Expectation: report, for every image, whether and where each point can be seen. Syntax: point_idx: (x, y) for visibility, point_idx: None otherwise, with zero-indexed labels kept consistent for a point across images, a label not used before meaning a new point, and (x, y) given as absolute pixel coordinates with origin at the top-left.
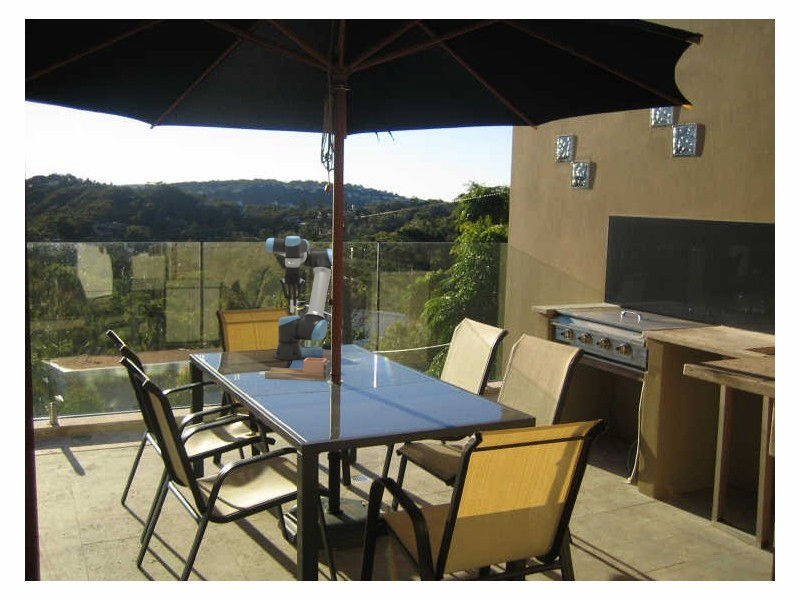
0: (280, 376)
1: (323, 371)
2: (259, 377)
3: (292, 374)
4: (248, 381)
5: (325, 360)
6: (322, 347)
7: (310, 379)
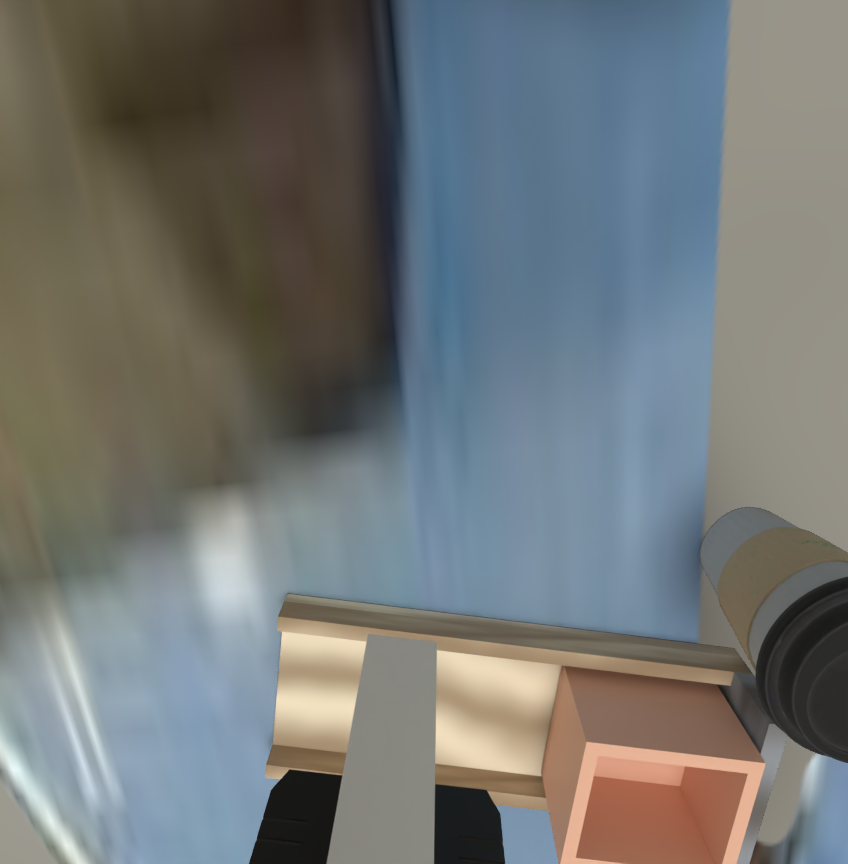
0: None
1: None
2: (233, 725)
3: None
4: (189, 839)
5: (748, 809)
6: (768, 707)
7: None
